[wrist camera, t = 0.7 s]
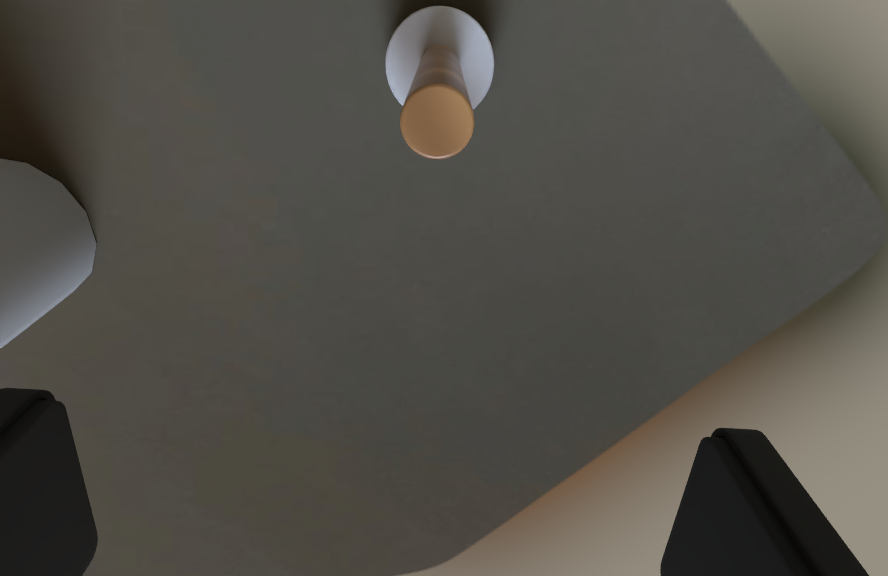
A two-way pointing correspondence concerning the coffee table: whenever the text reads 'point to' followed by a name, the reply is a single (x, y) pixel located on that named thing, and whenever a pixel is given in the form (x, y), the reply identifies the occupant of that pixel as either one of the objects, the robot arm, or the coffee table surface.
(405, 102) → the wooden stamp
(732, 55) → the coffee table surface
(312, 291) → the coffee table surface
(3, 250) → the cup
